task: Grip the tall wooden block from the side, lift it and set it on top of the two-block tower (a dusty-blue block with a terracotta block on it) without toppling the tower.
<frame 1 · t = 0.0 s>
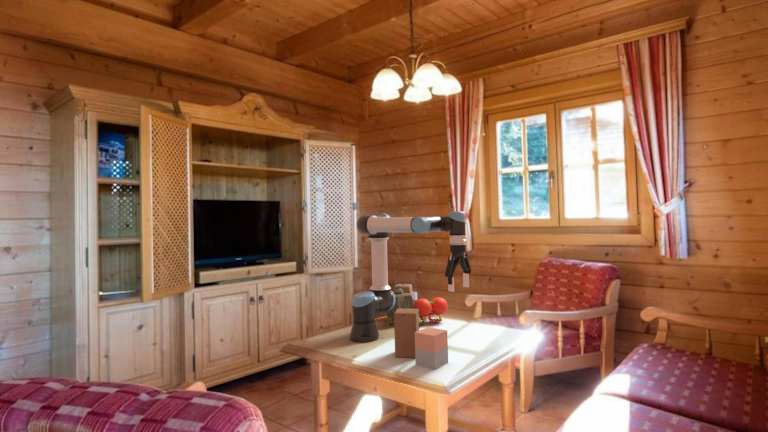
hand: (458, 289, 211), 28 cm above the table, tool pointing down, fingers open, 13 cm apart
tower top: (431, 347, 191), point 7 cm above the table, touching tower base
wooden block: (407, 354, 205), on the table
molecule: (427, 323, 259), on the table
tower base: (432, 363, 191), on the table, touching tower top
block: (403, 317, 275), on the table
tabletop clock: (400, 324, 260), on the table
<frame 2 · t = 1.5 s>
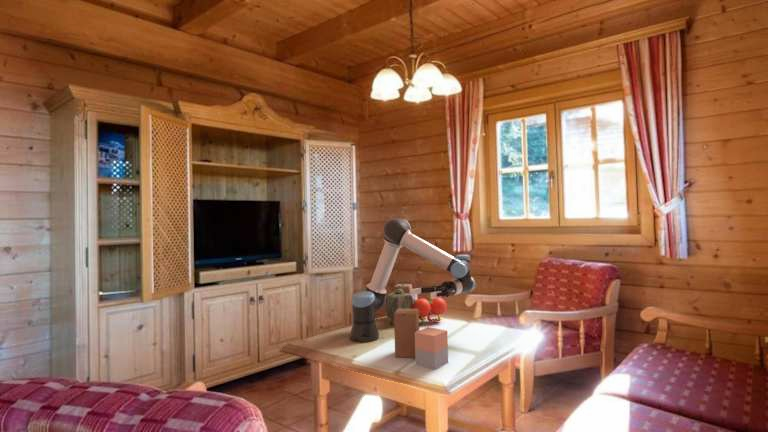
hand: (420, 294, 210), 26 cm above the table, tool horizontal, fingers open, 13 cm apart
nothing on the table moved.
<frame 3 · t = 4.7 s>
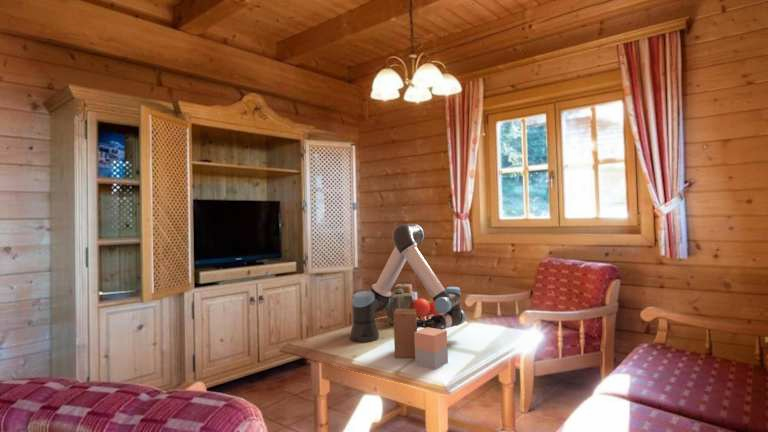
hand: (409, 330, 205), 11 cm above the table, tool horizontal, fingers open, 13 cm apart
wooden block: (406, 354, 204), on the table, touching gripper
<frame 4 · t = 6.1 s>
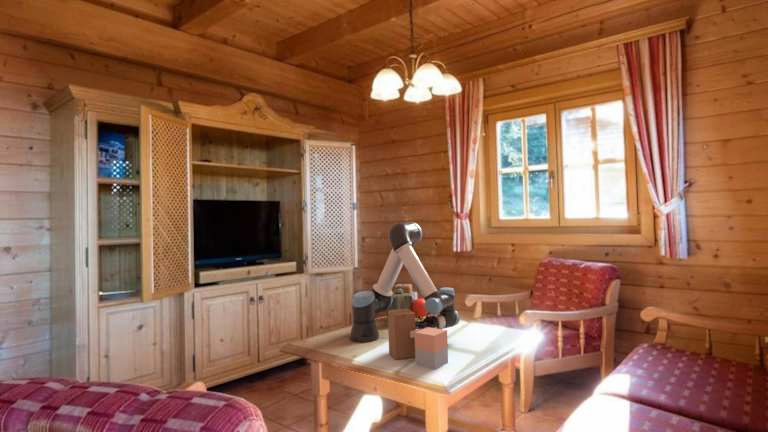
hand: (401, 331, 202), 11 cm above the table, tool horizontal, fingers closed on wooden block, 12 cm apart
wooden block: (402, 355, 203), on the table, touching gripper
when the fingers open (26 cm above the table, at t = 11.8 s): wooden block drops 1 cm, resting on tower top.
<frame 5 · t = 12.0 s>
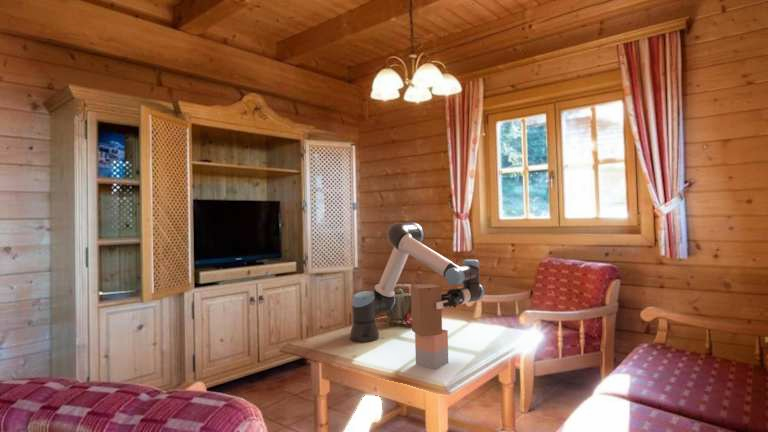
hand: (424, 303, 189), 26 cm above the table, tool horizontal, fingers open, 13 cm apart
tower top: (431, 347, 191), point 7 cm above the table, touching tower base, wooden block
wooden block: (426, 332, 190), point 14 cm above the table, touching tower top
molecule: (424, 323, 260), on the table, touching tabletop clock
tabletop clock: (400, 324, 260), on the table, touching molecule
everything else where it was.
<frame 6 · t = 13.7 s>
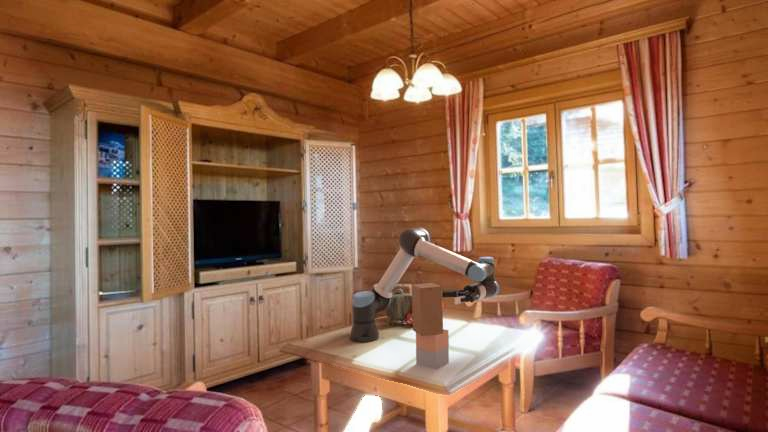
hand: (442, 299, 196), 27 cm above the table, tool horizontal, fingers open, 13 cm apart
nothing on the table moved.
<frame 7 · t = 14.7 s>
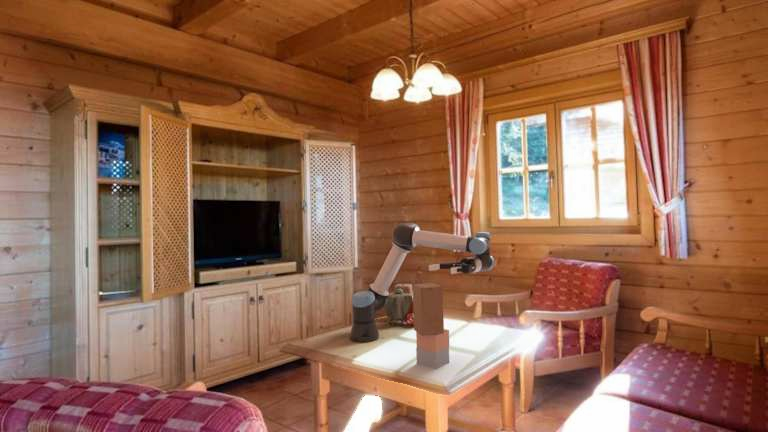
hand: (440, 269, 204), 38 cm above the table, tool horizontal, fingers open, 13 cm apart
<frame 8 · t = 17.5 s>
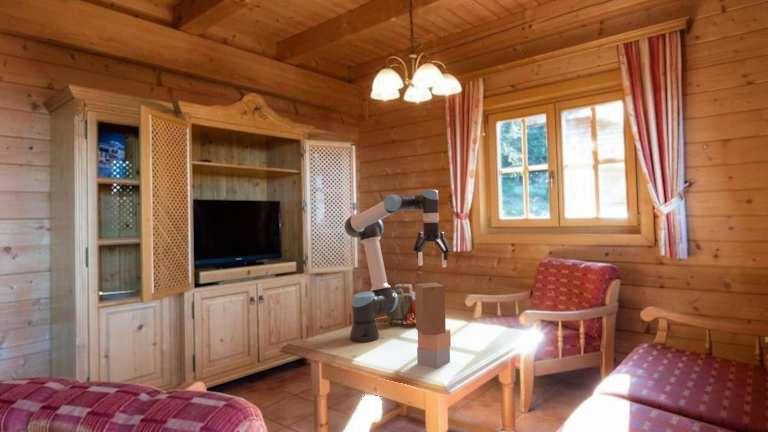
hand: (432, 266, 214), 39 cm above the table, tool pointing down, fingers open, 13 cm apart
at the end: wooden block inside the target area on the tower top (2.1 cm from its centre), point 6.8 cm above the tower top's base; wooden block tilted 0°; tower top tilted 0° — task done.
